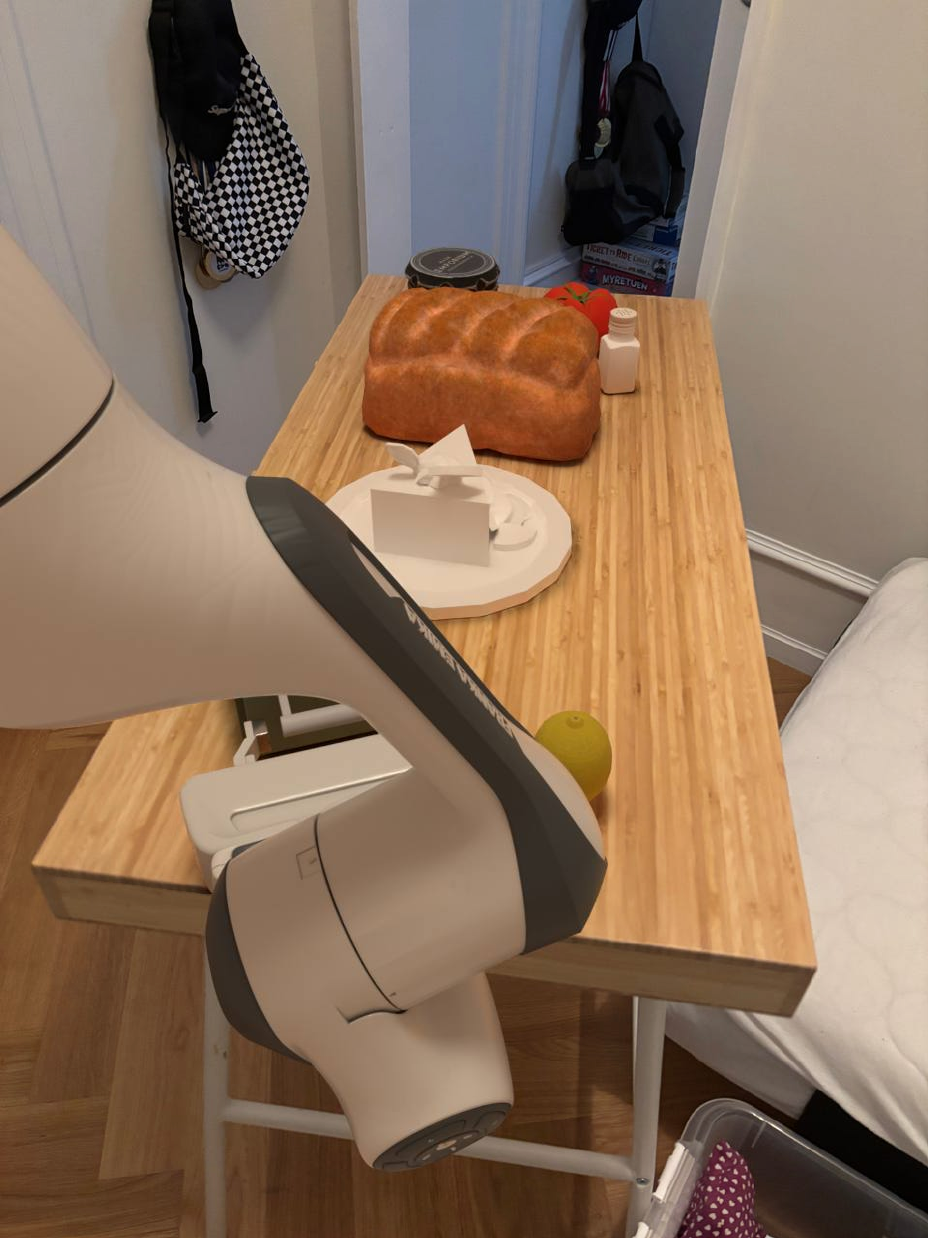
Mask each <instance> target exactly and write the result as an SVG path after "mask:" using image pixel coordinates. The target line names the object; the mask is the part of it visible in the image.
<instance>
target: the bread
mask: <svg viewBox="0 0 928 1238" xmlns="http://www.w3.org/2000/svg"><path fill="white" fill-rule="evenodd" d="M598 353H599V350H598V332H597V329H596V328H595V326H594V325H593V323H592V322H591V321H590V320H589V319H588V318H587V317H586V316H585V315H584V314H583V313H581V312H579V311H578V310H576V309H575V308H574V307H572V306H568V307H565V306H564V305H563V304H562V303H561V302H559V301H557V300H555V299H551V298H547V297H542V296H541V297H540V296H539V297H530V298H529V297H527V298H523V297H521V296H519V295H517V294H515V293H511V292H504V291H478V292H472V291H469V290H465V289H458V288H451V287H440V288H435V289H431V290H426V289H424V288H412V289H408V288H407V289H405V290H403V291H402V292H400V293H399V294H396V295H395V296H394V297H392V298H390V299H389V300H388V302H387V303H385V305H384V306H383V307H382V308H381V310H380V311H379V312H378V314H377V316H376V318H375V319H374V320H373V323H372V325H371V329H370V331H369V341H368V354H369V355H368V356H367V359H366V362H365V365H364V368H363V370H364V371H363V376H364V379H363V380H364V387H363V394H362V401H361V416H362V417H361V418H362V422H363V423H364V424H365V425H366V426H367V427H368V428H369V429H370V430H372V431H373V432H374V433H375V435H378V436H382V437H386V438H390V439H395V440H401V441H402V440H403V441H412V442H423V443H431V444H436V443H437V442H438V441H440V440H441V439H443V438H444V437H446V436H447V435H449V434H450V433H451V432H453V431H454V430H456V429H457V428H459V427H460V426H461V425H463V424H464V426H465V429H466V432H467V435H468V438H469V441H470V444H471V447H472V450H483V449H490V450H493V451H496V452H499V453H501V454H506V455H511V456H516V457H523V458H529V459H537V460H544V461H546V460H547V461H558V462H565V461H566V462H567V461H571V460H572V461H573V460H576V459H580V458H582V457H584V456H585V455H586V453H587V451H588V450H589V448H590V446H591V445H592V442H593V438H594V434H595V433H596V432H597V431H598V430H599V426H600V422H601V417H602V409H601V404H600V402H601V392H602V391H601V390H602V388H601V377H600V368H599V365H598V363H599V361H598V360H597V355H598Z"/></svg>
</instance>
